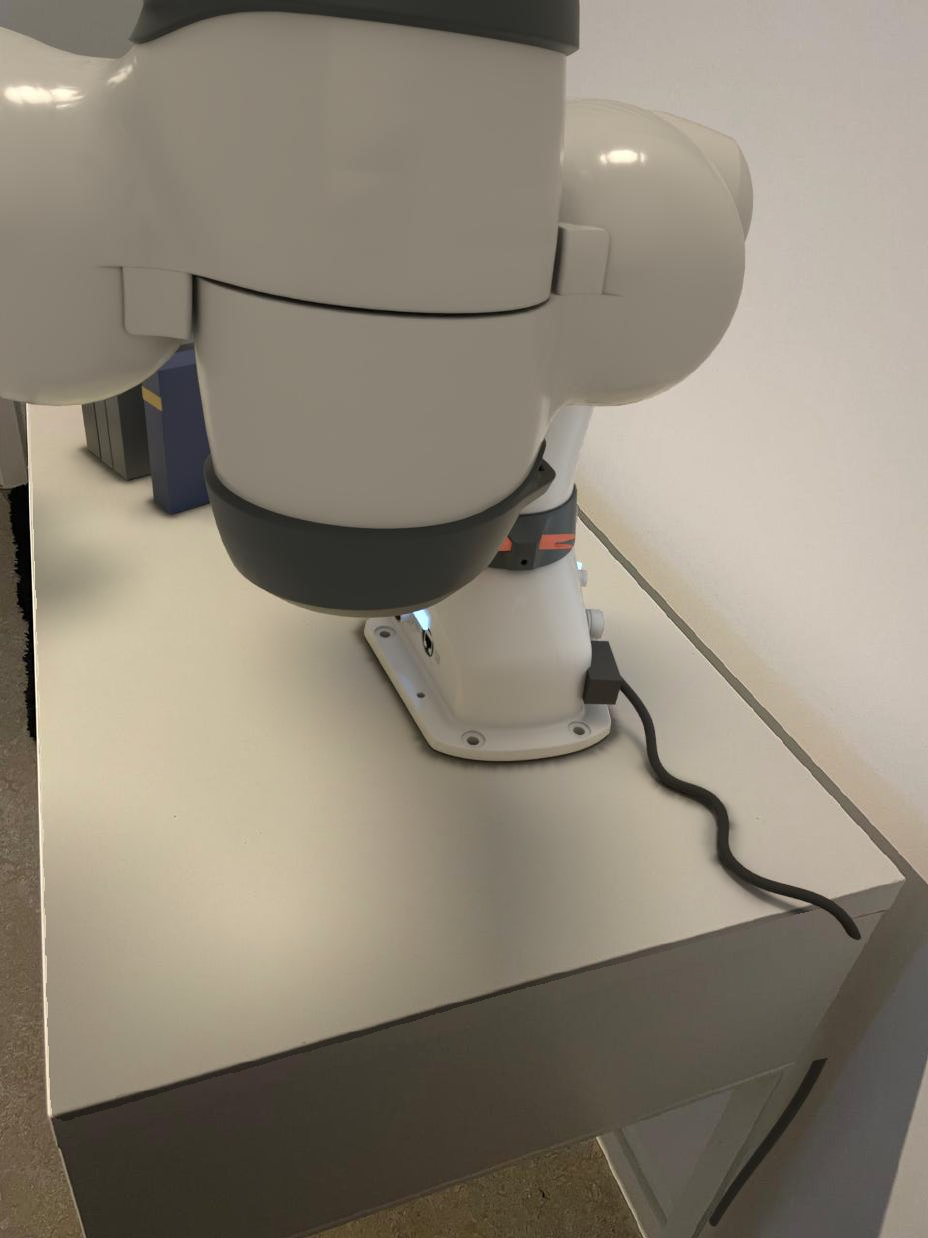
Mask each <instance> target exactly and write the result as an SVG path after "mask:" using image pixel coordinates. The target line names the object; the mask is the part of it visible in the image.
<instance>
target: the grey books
mask: <svg viewBox="0 0 928 1238" xmlns="http://www.w3.org/2000/svg"><path fill="white" fill-rule="evenodd" d="M193 349H195V348H194V339H193V329H192V332H191V339H187V340H186V339H184V341H183V343H182V344H181V345H180V347H179V348H178V349H177V350H176V352H175V353H177V352H182V351H187V350H193ZM142 386H143V385H142V383H140V384H139V385H137V386H135V387H133V388H131V389H129V390H127V391H125V392H123V393H122V394H119V395H116V396H113V397H111V398H108V399H105V400H102V401H97V402H92V403H87V404H82V405H80V406H81V411H82V412H81V413H82V419H83V427H84V434H85V440H86V449H87V450H88V451H89V452H90V453H91V454H93V455H94V456H96V458H98V459H99V460H100V461H102V463H104V464H105V465H107V466H108V467H109V468H111V469H112V470H113V471H114V472H115V473H117V475H120V476H121V477H122V478H123V479H125V480H126V481H130V480H133V479H138V478H141V477H145V476H149V475H151V467H150V457H149V446H148V436H147V426H146V416H145V405H144V399H143V395H142Z"/></svg>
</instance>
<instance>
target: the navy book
mask: <svg viewBox="0 0 928 1238" xmlns="http://www.w3.org/2000/svg"><path fill="white" fill-rule="evenodd" d="M142 385H143V386H142V395H143V399H144V405H145V416H146V426H147V436H148V446H149V457H150V467H151V474H150V476H151V487H152V496H153V497H152V498H153V502H154V503H155V504H156V505H157V506H159V507H160V508H161V509H162V510H163V511H165V512H166V513H167V514H169V515H174V514H177V513H181V512H184V511H187V510H190V509H194V508H196V507H197V508H198V507H200V506H204V505H207V504H210V500H209V496H208V492H207V487H206V483H205V479H204V473H203V468H204V463H205V461H206V459H207V457H208V456H209V454H210V453H211V452H210V447H209V442H208V436H207V431H206V426H205V420H204V413H203V407H202V400H201V394H200V387H199V381H198V374H197V366H196V357H195V349H193V350H187V351H182V352H177V353H174V354H173V355H172V357H171V358H170V359H169V360H168V361H167V362H166V363H165V364H164V365H163V366H162V367H161V368H160V369H159V370H158V371H157V372H155V373H154V374H153V375H152V376H150V377H149V378H147V379H146V380H145V381H143V382H142Z"/></svg>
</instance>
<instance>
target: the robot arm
mask: <svg viewBox="0 0 928 1238" xmlns="http://www.w3.org/2000/svg"><path fill="white" fill-rule="evenodd" d="M580 5H581V4H580V0H142V7H141V10H140V13H139V16H138V18H137V21H136V24H135V26H134V28H133V29H132V32H131V34H130V35H129V38H128V41H130V42H131V43H132V44H133V45H132V47H131V48H130V49H129V50H128V52H126V53H125V54H124V55H123V56H121V57H119V58H109V57H98V56H97V57H96V56H89V55H82V54H77V53H73V52H69V51H67V50H63V49H60V48H56V47H54V46H51V45H48V44H46V43H44V42H42V41H40V40H37V39H35V38H33V37H31V36H29V35H26V34H23V33H20V32H18V31H15V30H12V29H8V28H6V27H3V26H0V398H2V399H6V400H9V401H12V402H19V403H24V404H28V405H33V406H48V407H67V406H81V405H82V404H87V403H92V402H97V401H102V400H105V399H108V398H111V397H113V396H116V395H119V394H122V393H123V392H125V391H127V390H129V389H131V388H133V387H135V386H137V385H139V384H140V383H142V382H143V381H145V380H146V379H147V378H149V377H150V376H152V375H153V374H154V373H155V372H157V371H158V370H159V369H160V368H161V367H162V366H163V365H164V364H165V363H166V362H167V361H168V360H169V359H170V358H171V357H172V355H173V354H174V353H175V352H176V350H177V349H178V348H179V347H180V345H181V344H182V343H183V341H184V339H186V340H187V339H191V332H192V329H193V339H194V348H195V357H196V366H197V374H198V381H199V387H200V394H201V400H202V407H203V413H204V420H205V426H206V431H207V436H208V442H209V447H210V452H211V453H210V454H209V456H208V457H207V459H206V461H205V463H204V468H203V473H204V479H205V483H206V487H207V492H208V496H209V500H210V503H209V504H210V507H211V511H212V515H213V517H214V521H215V525H216V528H217V532H218V534H219V537H220V539H221V541H222V542H221V543H222V545H223V547H224V549H225V551H226V553H227V555H228V557H229V559H230V561H231V563H232V565H233V567H235V569H236V570H237V571H238V572H239V573H240V575H242V577H244V578H245V579H246V580H248V582H250V583H252V584H253V585H255V586H256V587H258V588H260V589H261V590H263V591H265V592H267V593H268V594H271V595H273V596H275V598H276V597H277V598H279V599H280V600H282V601H284V602H286V603H288V604H291V605H293V606H296V607H299V608H302V609H304V610H307V611H312V612H315V613H319V614H323V615H329V616H336V617H343V618H355V619H356V618H357V619H367V620H366V621H365V625H364V629H363V635H364V637H365V639H366V641H367V643H368V644H369V646H370V648H371V650H372V651H373V653H374V655H375V656H376V658H377V659H378V662H379V664H381V666H382V668H383V670H384V671H385V674H387V677H388V678H389V680H390V682H391V683H392V685H393V687H394V689H395V690H396V692H397V693H398V695H399V697H400V698H401V700H402V702H403V703H404V705H405V707H406V709H407V710H408V712H409V714H410V715H411V717H412V719H413V720H414V722H415V724H416V725H417V727H418V729H419V731H420V732H421V734H422V736H423V737H424V739H425V741H426V742H427V744H428V745H429V746H430V747H431V748H432V749H433V750H435V751H437V752H439V753H443V754H446V755H448V756H452V757H455V758H461V759H467V760H476V761H486V762H487V761H488V762H515V761H528V760H539V759H544V758H553V757H558V756H563V755H569V754H572V753H575V752H579V751H582V750H585V749H587V748H589V747H591V746H593V745H595V744H597V743H599V742H601V741H602V740H603V739H604V738H606V737H607V736H608V735H609V734H610V732H611V726H612V717H611V715H610V711H609V705H611V706H614V705H616V703H617V701H618V697H619V694H620V692H621V693H622V694H623V695H624V696H625V698H626V699H627V701H629V703H630V704H631V705H632V707H633V709H635V711H636V713H637V715H638V716H639V719H640V721H641V723H642V726H643V730H644V736H645V746H646V753H647V759H648V762H649V764H650V767H651V768H652V771H653V772H654V773H655V775H656V777H658V778H659V779H660V781H662V782H663V783H665V785H667V786H669V787H670V788H673V789H674V790H677V791H679V792H683V793H684V794H685V793H686V794H688V795H691V796H694V797H697V798H699V799H701V800H703V801H704V802H706V803H707V804H708V805H709V806H710V807H711V808H712V809H713V811H714V813H715V814H716V817H717V835H716V836H717V841H716V842H717V848H718V852H719V856H720V858H721V861H722V862H723V863H724V864H725V865H726V867H727V868H728V869H729V870H730V871H731V872H732V873H733V874H734V875H736V877H738V879H741V880H743V881H744V882H746V883H747V884H749V885H752V886H753V887H756V889H757V888H758V889H761V890H764V891H766V892H768V893H772V894H776V895H778V896H783V897H786V898H791V899H794V900H798V901H801V902H803V903H808V904H811V905H813V906H816V907H817V908H820V909H822V910H824V911H826V912H827V913H829V915H832V916H833V917H834V919H836V920H837V922H839V924H840V925H841V927H842V928H843V930H844V931H845V933H846V934H847V936H848V937H849V938H851V939H853V940H855V941H860V940H861V939H862V935H861V933H860V930H859V928H858V926H857V925H856V923H855V921H854V920H853V918H852V917H851V916H850V915H849V914H848V913H847V911H845V909H844V908H843V907H841V906H840V905H838V904H837V903H836V902H835V901H833V900H832V899H829V897H826V896H824V895H823V894H819V893H818V892H814V891H812V890H808V889H805V888H803V887H802V888H801V887H798V886H795V885H791V884H788V883H787V884H786V883H783V882H779V881H775V880H772V879H769V878H767V877H764V876H762V875H759V874H757V873H755V872H753V871H751V869H748V868H747V867H745V866H744V865H743V864H742V863H740V862H739V860H737V858H736V857H735V856H734V854H733V852H732V850H731V848H730V841H729V839H730V837H729V836H730V819H729V813H728V811H727V808H726V807H725V805H724V803H723V802H722V800H721V799H720V798H719V797H718V796H717V795H716V794H715V793H713V792H712V791H710V790H708V789H706V788H704V787H702V786H700V785H697V784H693V783H690V782H688V781H685V780H681V779H679V778H677V777H676V776H674V775H672V774H671V773H670V772H669V771H667V769H666V768H665V766H663V763H662V762H661V758H660V756H659V753H658V744H657V736H656V729H655V724H654V721H653V719H652V716H651V714H650V712H649V711H648V708H647V706H646V705H645V704H644V702H643V701H642V699H641V698H640V696H639V695H638V694H637V693H636V692H635V691H634V689H633V688H632V687H631V685H630V684H629V683H628V682H627V681H626V680H625V678H623V676H622V675H621V673H620V669H619V667H618V664H617V661H616V659H615V655H614V653H613V650H612V647H611V644H610V641H608V640H599V639H601V638H602V637H603V634H604V629H605V616H604V613H603V611H602V610H600V609H597V608H596V609H595V608H586V604H585V599H584V593H583V588H585V587H586V586H587V585H588V580H589V575H588V571H587V570H586V569H583V568H582V565H583V563H582V562H579V561H578V560H577V554H576V550H575V543H576V533H577V531H576V530H577V523H578V516H579V515H578V514H579V508H578V488H577V485H576V483H575V481H576V477H577V473H578V468H579V464H580V461H581V455H582V451H583V447H584V444H585V440H586V437H587V433H588V430H589V426H590V424H591V421H592V417H593V415H594V411H595V408H596V407H621V406H626V405H632V404H637V403H640V402H643V401H646V400H647V401H648V400H650V399H653V398H655V397H657V396H659V395H661V394H663V393H666V392H667V391H670V390H671V389H673V388H674V387H676V386H677V385H679V384H681V383H682V382H684V381H685V380H686V379H688V378H689V377H690V376H691V375H692V374H694V373H695V372H696V371H697V370H698V369H699V368H700V367H701V366H702V365H703V364H704V363H705V362H706V361H707V360H708V359H709V358H710V357H711V355H712V354H713V353H714V351H715V349H716V348H717V347H718V346H719V344H720V343H721V342H722V340H723V338H724V336H725V335H726V333H727V332H728V330H729V328H730V326H731V324H732V321H733V318H734V316H735V313H736V311H737V309H738V307H739V302H740V299H741V295H742V292H743V286H744V280H745V279H744V278H745V273H746V245H745V244H746V241H747V239H748V235H749V232H750V229H751V224H752V220H753V214H754V213H753V212H754V188H753V182H752V181H753V180H752V175H751V172H750V171H751V170H750V167H749V165H748V164H749V163H748V162H747V160H746V157H745V155H744V153H743V150H742V149H741V147H740V145H739V144H738V142H737V140H736V139H734V138H733V137H732V136H730V135H727V134H725V133H722V132H720V131H718V130H716V129H712V128H711V127H708V126H706V125H703V124H701V123H698V122H696V121H692V120H689V119H688V118H687V119H686V118H684V117H681V116H679V115H675V114H673V113H669V112H668V111H662V110H655V109H648V108H643V107H640V106H637V105H636V104H632V103H627V102H622V101H619V100H612V99H608V98H607V99H606V98H588V97H575V96H567V57H569V56H571V55H573V54H575V53H576V52H577V51H579V50H580V28H581V27H580V22H581V18H580V17H581V15H580V14H581V13H580V10H581V7H580ZM828 1058H829V1057H824V1058H820V1059H816V1060H812V1061H811V1063H810V1066H809V1068H808V1070H807V1072H806V1074H805V1075H804V1077H803V1079H802V1080H801V1083H800V1084H799V1087H798V1089H797V1090H796V1091H795V1093H794V1095H793V1096H792V1098H791V1099H790V1101H789V1103H788V1104H787V1106H786V1107H785V1109H784V1111H782V1113H781V1115H780V1116H779V1117H778V1119H777V1121H775V1124H774V1125H773V1126H772V1128H771V1129H770V1130H769V1132H768V1133H767V1134H766V1136H765V1137H764V1139H763V1140H762V1142H761V1143H760V1144H759V1145H758V1147H757V1148H756V1150H755V1151H754V1153H753V1154H752V1155H751V1157H749V1158H748V1161H747V1162H746V1163H745V1164H744V1166H743V1167H742V1169H741V1170H740V1171H739V1173H738V1174H737V1175H736V1177H735V1178H734V1179H733V1181H732V1182H731V1183H730V1185H729V1187H728V1188H727V1190H726V1191H725V1193H724V1194H723V1196H722V1197H721V1199H720V1200H719V1202H718V1203H717V1205H716V1206H715V1208H714V1210H713V1212H712V1214H711V1215H710V1217H709V1219H708V1222H709V1225H710V1226H711V1227H717V1226H718V1225H719V1223H720V1221H721V1220H722V1218H723V1217H724V1215H725V1213H726V1212H727V1210H728V1208H729V1207H730V1206H731V1205H732V1203H733V1201H734V1199H736V1197H737V1196H738V1194H739V1193H740V1191H741V1190H742V1188H743V1187H744V1186H745V1185H746V1183H747V1182H748V1180H750V1178H751V1176H752V1175H753V1174H754V1172H755V1171H756V1170H757V1168H758V1167H759V1166H760V1165H761V1163H762V1162H763V1161H764V1160H765V1158H766V1157H767V1156H768V1154H769V1153H770V1152H771V1150H772V1149H773V1147H774V1146H775V1145H776V1144H777V1142H778V1141H779V1139H780V1138H781V1137H782V1136H783V1134H784V1133H785V1131H786V1130H787V1129H788V1127H789V1126H790V1124H791V1123H792V1122H793V1120H794V1119H795V1117H796V1116H797V1114H798V1112H799V1111H800V1110H801V1108H802V1106H803V1105H804V1104H805V1102H806V1100H807V1098H808V1097H809V1095H810V1093H811V1092H812V1090H813V1088H814V1087H815V1085H816V1083H817V1081H818V1079H819V1077H820V1076H821V1073H822V1072H823V1069H824V1067H825V1065H826V1063H827V1061H828V1060H829V1059H828Z"/></svg>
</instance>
